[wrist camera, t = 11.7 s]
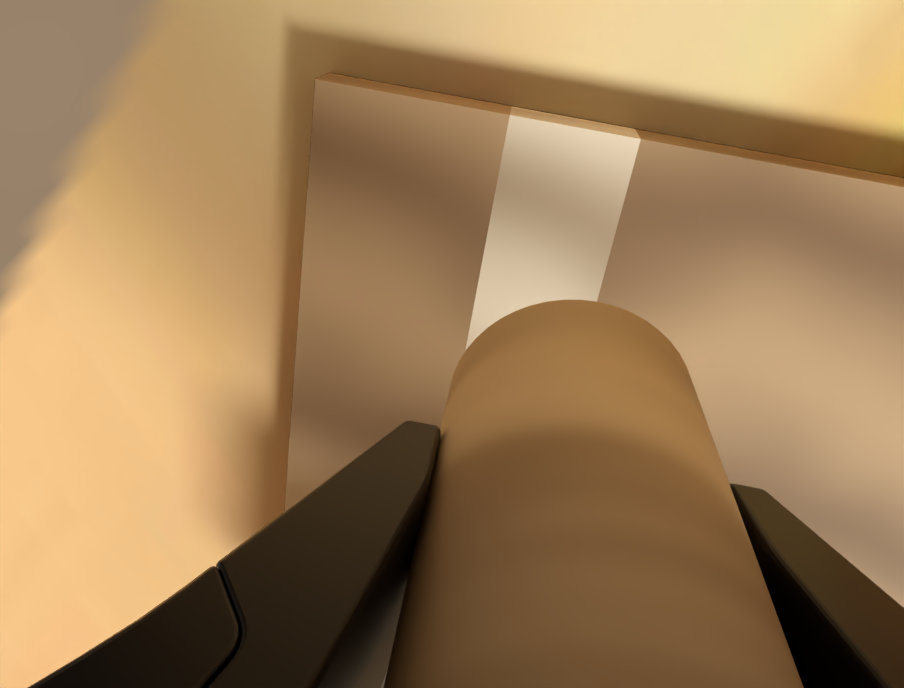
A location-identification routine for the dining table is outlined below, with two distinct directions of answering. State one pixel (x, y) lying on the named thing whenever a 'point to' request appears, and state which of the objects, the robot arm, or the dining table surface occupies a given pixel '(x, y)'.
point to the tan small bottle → (582, 523)
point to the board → (607, 288)
